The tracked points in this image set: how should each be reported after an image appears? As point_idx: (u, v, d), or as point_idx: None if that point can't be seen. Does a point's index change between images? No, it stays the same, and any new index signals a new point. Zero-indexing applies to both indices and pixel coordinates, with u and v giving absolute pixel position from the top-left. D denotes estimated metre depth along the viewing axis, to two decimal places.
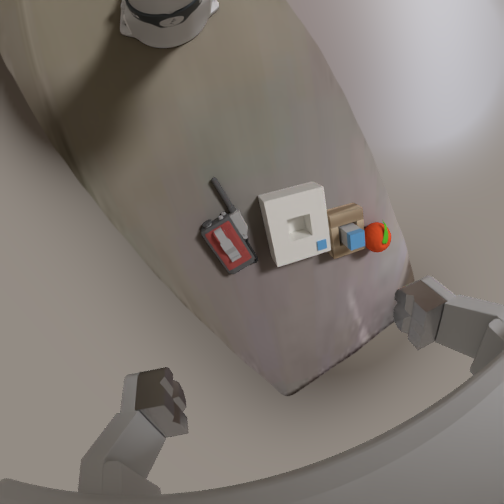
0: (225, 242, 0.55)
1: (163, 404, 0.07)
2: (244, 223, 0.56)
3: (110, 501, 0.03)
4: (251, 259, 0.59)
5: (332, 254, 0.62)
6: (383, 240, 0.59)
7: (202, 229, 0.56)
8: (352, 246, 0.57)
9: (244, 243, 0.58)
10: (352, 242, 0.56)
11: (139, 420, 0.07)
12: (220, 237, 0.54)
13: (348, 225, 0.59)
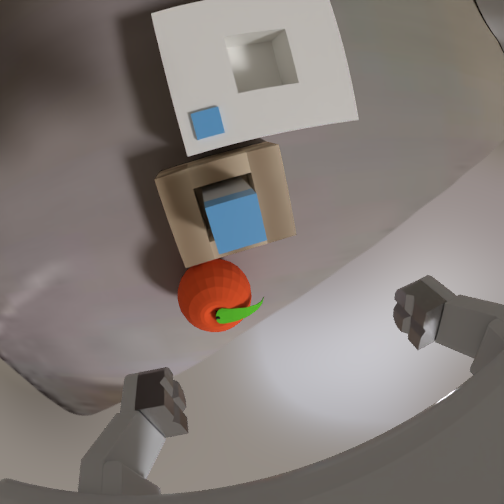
0: None
1: (163, 404, 0.07)
2: None
3: (110, 501, 0.03)
4: None
5: (164, 174, 0.22)
6: (224, 311, 0.24)
7: None
8: (217, 209, 0.19)
9: None
10: (232, 206, 0.19)
11: (139, 420, 0.07)
12: None
13: None
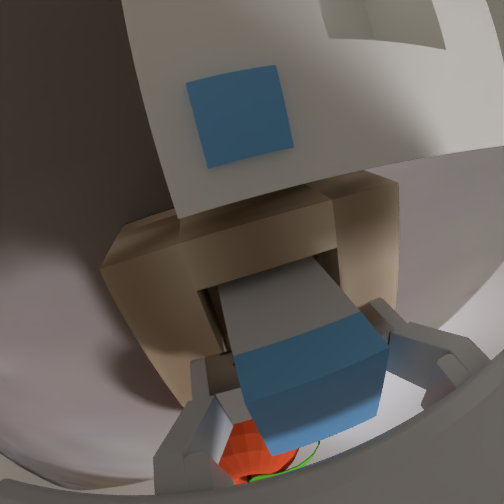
0: None
1: None
2: None
3: (110, 501, 0.03)
4: None
5: (124, 251, 0.09)
6: (263, 477, 0.11)
7: None
8: (281, 399, 0.06)
9: None
10: (323, 387, 0.06)
11: (214, 406, 0.07)
12: None
13: None
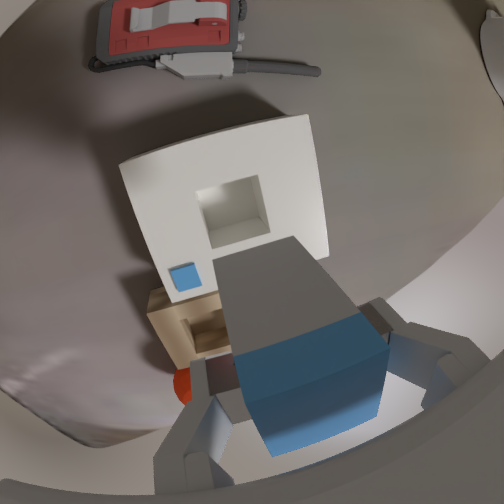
0: (191, 10, 0.15)
1: None
2: (195, 72, 0.19)
3: (110, 501, 0.03)
4: (104, 53, 0.16)
5: (154, 306, 0.25)
6: None
7: None
8: (282, 400, 0.06)
9: (151, 51, 0.17)
10: (323, 388, 0.06)
11: (215, 406, 0.07)
12: (210, 7, 0.15)
13: None
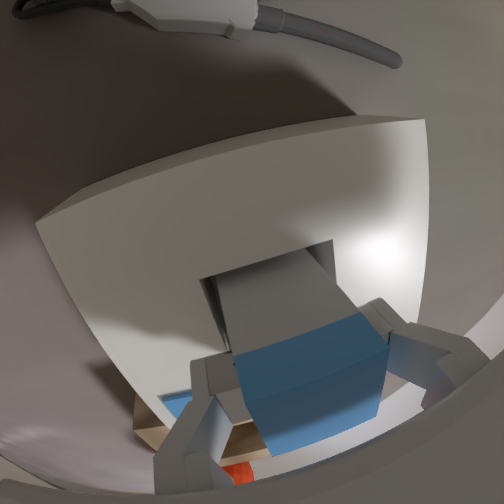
0: None
1: None
2: (181, 13, 0.08)
3: (110, 501, 0.03)
4: None
5: (143, 418, 0.15)
6: None
7: None
8: (282, 399, 0.06)
9: None
10: (323, 387, 0.06)
11: (215, 406, 0.07)
12: None
13: None
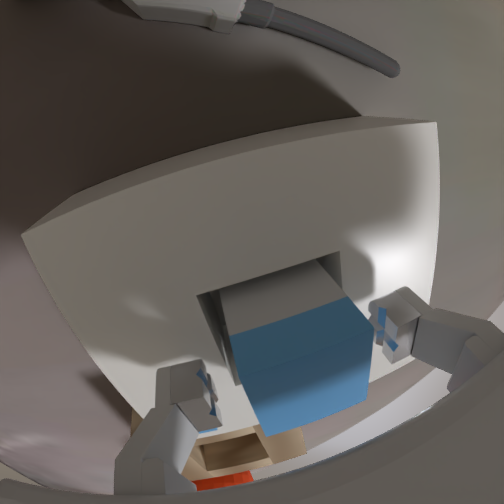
0: None
1: (202, 396, 0.07)
2: (163, 0, 0.07)
3: (110, 501, 0.03)
4: None
5: None
6: None
7: None
8: (273, 375, 0.06)
9: None
10: (311, 364, 0.07)
11: (176, 414, 0.07)
12: None
13: None
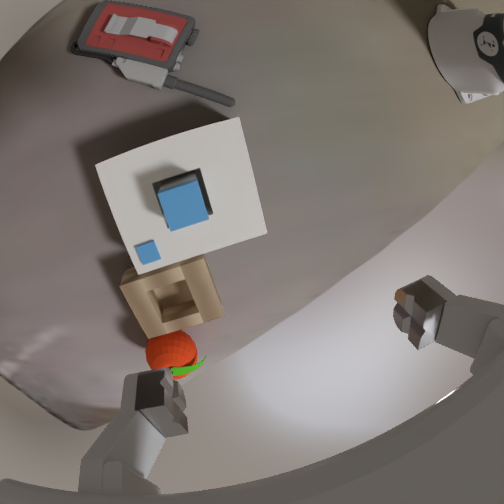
0: (148, 28, 0.19)
1: (163, 404, 0.07)
2: (135, 77, 0.23)
3: (110, 501, 0.03)
4: (83, 42, 0.19)
5: (126, 280, 0.30)
6: (176, 368, 0.32)
7: (193, 25, 0.22)
8: (167, 194, 0.23)
9: (112, 52, 0.21)
10: (179, 192, 0.23)
11: (139, 420, 0.07)
12: (162, 29, 0.20)
13: None
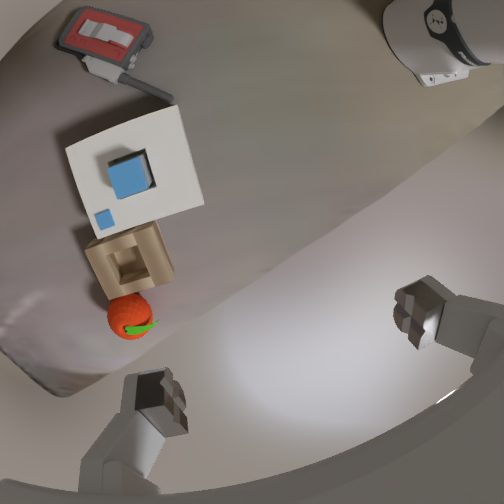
0: (109, 33, 0.22)
1: (163, 404, 0.07)
2: (96, 72, 0.26)
3: (110, 501, 0.03)
4: (63, 40, 0.22)
5: (90, 246, 0.34)
6: (129, 327, 0.36)
7: (150, 31, 0.26)
8: (114, 169, 0.26)
9: (82, 50, 0.24)
10: (123, 167, 0.26)
11: (139, 420, 0.07)
12: (120, 35, 0.23)
13: (148, 169, 0.31)
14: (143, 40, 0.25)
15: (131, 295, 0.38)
